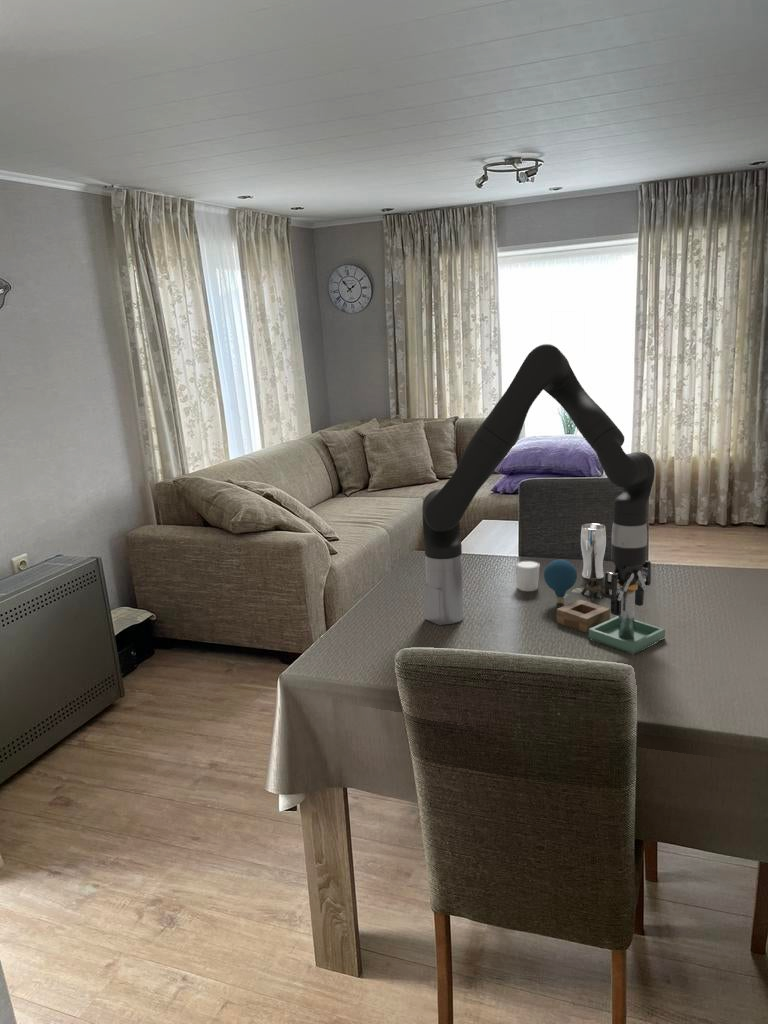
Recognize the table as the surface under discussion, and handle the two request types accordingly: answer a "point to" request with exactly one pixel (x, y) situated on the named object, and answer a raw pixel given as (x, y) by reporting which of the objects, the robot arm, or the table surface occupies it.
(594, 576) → the eiffel tower figurine
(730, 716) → the table surface
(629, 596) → the pin
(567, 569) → the light bulb
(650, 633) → the tray
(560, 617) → the socket block
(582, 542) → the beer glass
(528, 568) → the white cylinder
